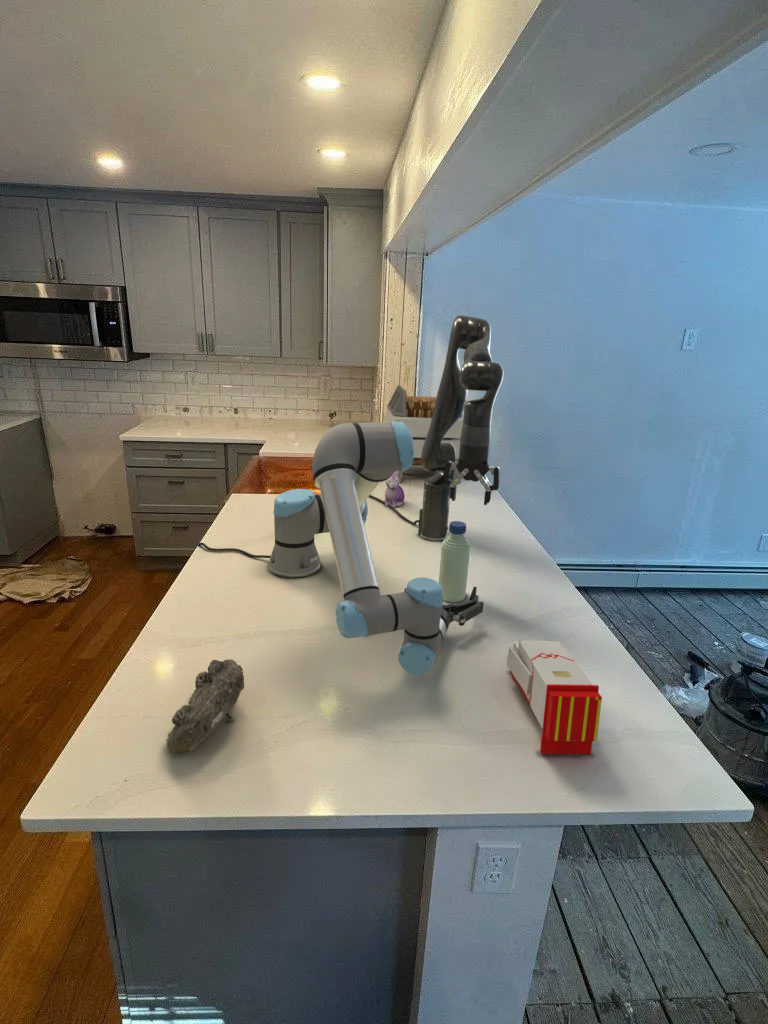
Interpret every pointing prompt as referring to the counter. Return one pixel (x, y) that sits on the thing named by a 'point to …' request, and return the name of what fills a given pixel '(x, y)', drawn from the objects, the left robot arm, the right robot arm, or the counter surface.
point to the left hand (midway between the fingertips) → (449, 586)
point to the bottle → (454, 567)
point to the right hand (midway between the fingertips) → (469, 502)
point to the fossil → (206, 705)
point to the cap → (457, 527)
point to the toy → (557, 696)
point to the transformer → (420, 422)
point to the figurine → (394, 491)
